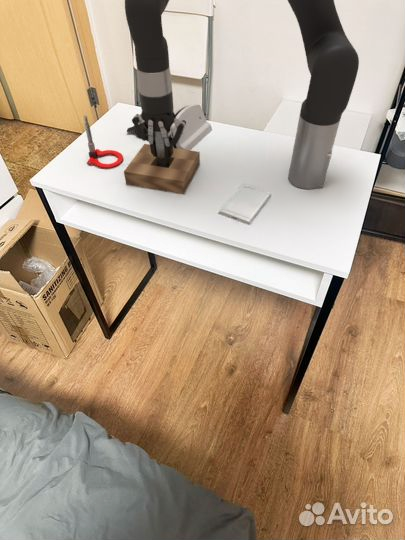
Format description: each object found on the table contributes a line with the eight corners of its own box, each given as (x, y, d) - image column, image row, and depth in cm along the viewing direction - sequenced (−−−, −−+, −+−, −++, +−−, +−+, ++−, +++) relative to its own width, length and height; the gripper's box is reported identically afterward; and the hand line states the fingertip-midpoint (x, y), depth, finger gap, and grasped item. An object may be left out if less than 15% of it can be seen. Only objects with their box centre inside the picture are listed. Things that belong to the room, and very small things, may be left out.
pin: (170, 166, 101) (167, 127, 93) (167, 172, 100) (163, 133, 91) (160, 164, 102) (156, 125, 94) (156, 170, 100) (151, 131, 92)
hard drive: (242, 183, 97) (218, 210, 90) (271, 193, 95) (249, 221, 88) (241, 188, 99) (218, 215, 92) (270, 198, 96) (249, 226, 89)
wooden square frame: (199, 164, 105) (199, 151, 102) (184, 194, 96) (183, 181, 93) (146, 156, 108) (144, 143, 105) (126, 184, 99) (123, 171, 96)
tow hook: (127, 155, 110) (97, 151, 110) (121, 112, 100) (88, 108, 101) (117, 172, 104) (85, 167, 105) (110, 128, 94) (75, 123, 95)
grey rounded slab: (185, 155, 109) (173, 120, 103) (172, 155, 111) (160, 122, 105) (212, 129, 118) (203, 96, 112) (200, 130, 121) (190, 99, 115)
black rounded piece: (143, 125, 121) (142, 116, 119) (165, 135, 117) (164, 126, 114) (125, 134, 117) (123, 125, 115) (147, 145, 113) (146, 136, 111)
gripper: (190, 84, 86) (192, 152, 99) (133, 78, 89) (142, 145, 102) (179, 99, 81) (183, 168, 94) (119, 91, 84) (131, 160, 97)
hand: (162, 155), depth 98 cm, fingers closed on pin, 3 cm apart
